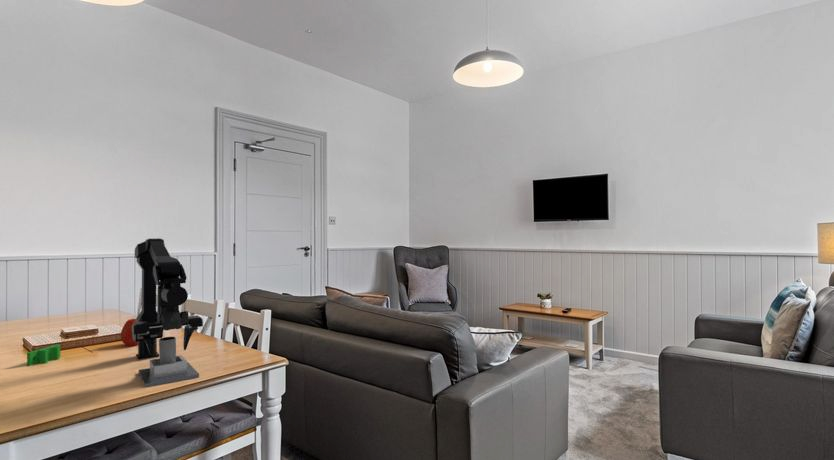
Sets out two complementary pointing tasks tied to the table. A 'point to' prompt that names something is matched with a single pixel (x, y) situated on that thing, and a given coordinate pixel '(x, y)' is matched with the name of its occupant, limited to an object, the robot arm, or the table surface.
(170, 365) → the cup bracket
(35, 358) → the pipe clamp
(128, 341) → the apple
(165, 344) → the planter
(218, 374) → the table surface
